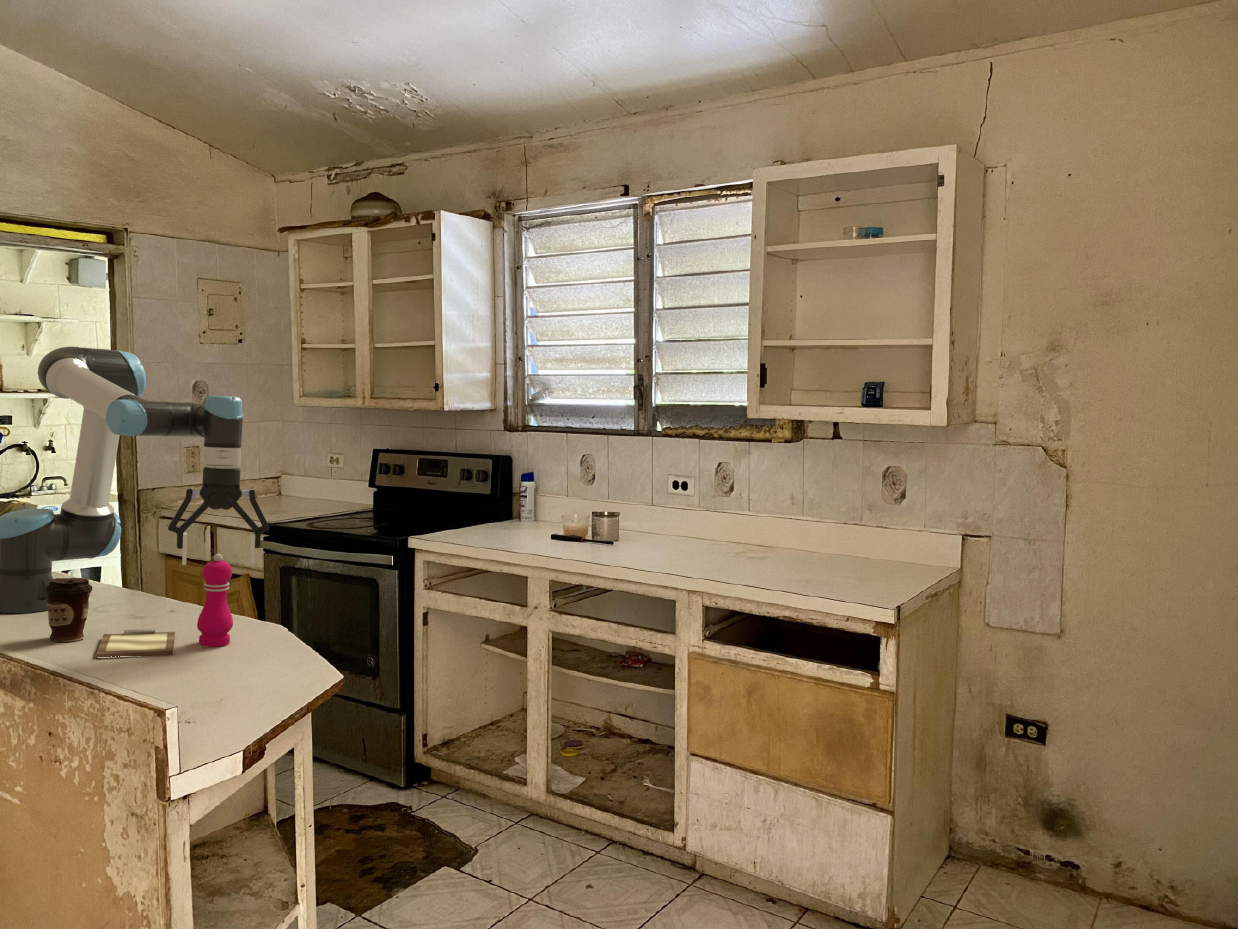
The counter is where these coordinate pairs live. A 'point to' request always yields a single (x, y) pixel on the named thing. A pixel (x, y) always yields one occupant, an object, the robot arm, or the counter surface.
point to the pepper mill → (215, 605)
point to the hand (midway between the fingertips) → (218, 563)
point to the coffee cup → (68, 607)
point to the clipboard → (137, 643)
